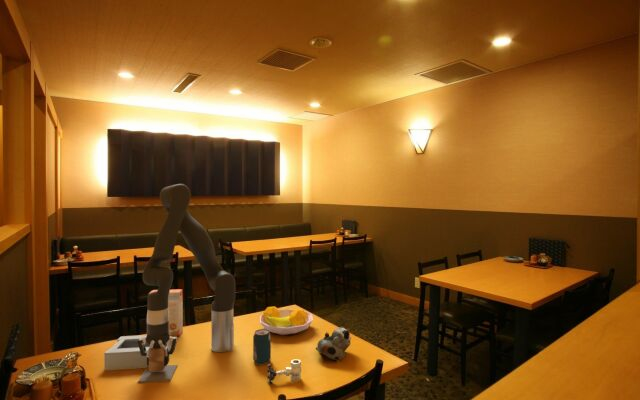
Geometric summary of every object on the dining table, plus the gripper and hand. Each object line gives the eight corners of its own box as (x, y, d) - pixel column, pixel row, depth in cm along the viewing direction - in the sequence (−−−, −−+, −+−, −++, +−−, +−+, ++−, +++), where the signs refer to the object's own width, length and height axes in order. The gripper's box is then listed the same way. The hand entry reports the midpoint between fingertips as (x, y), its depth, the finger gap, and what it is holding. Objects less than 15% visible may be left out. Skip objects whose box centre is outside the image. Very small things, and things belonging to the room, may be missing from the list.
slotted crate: (170, 349, 157) (170, 333, 157) (160, 366, 141) (160, 349, 141) (120, 351, 154) (120, 336, 154) (104, 370, 138) (104, 353, 138)
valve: (298, 374, 137) (267, 378, 133) (299, 356, 136) (267, 361, 133) (303, 383, 130) (270, 388, 127) (303, 364, 130) (270, 369, 127)
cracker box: (183, 331, 177) (183, 288, 176) (179, 336, 171) (179, 292, 170) (153, 332, 175) (152, 289, 175) (148, 337, 169) (148, 292, 169)
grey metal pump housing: (319, 346, 160) (334, 317, 162) (343, 361, 156) (358, 331, 158) (310, 350, 146) (327, 319, 148) (336, 367, 142) (353, 334, 144)
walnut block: (166, 364, 138) (166, 343, 138) (163, 370, 133) (163, 349, 133) (153, 365, 138) (153, 344, 137) (148, 371, 133) (148, 349, 132)
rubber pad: (177, 366, 142) (177, 364, 142) (170, 380, 131) (170, 379, 131) (147, 368, 140) (147, 366, 140) (137, 383, 129) (137, 381, 129)
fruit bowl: (290, 316, 199) (290, 295, 199) (324, 330, 179) (324, 307, 179) (245, 329, 180) (245, 306, 180) (277, 346, 160) (277, 321, 160)
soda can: (273, 359, 148) (273, 329, 148) (265, 366, 142) (265, 336, 142) (258, 356, 151) (258, 327, 150) (249, 363, 144) (250, 333, 144)
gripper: (180, 316, 140) (180, 359, 140) (140, 317, 138) (141, 362, 138) (175, 323, 132) (175, 369, 133) (133, 324, 130) (133, 371, 131)
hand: (158, 365), depth 135 cm, fingers closed on walnut block, 5 cm apart
